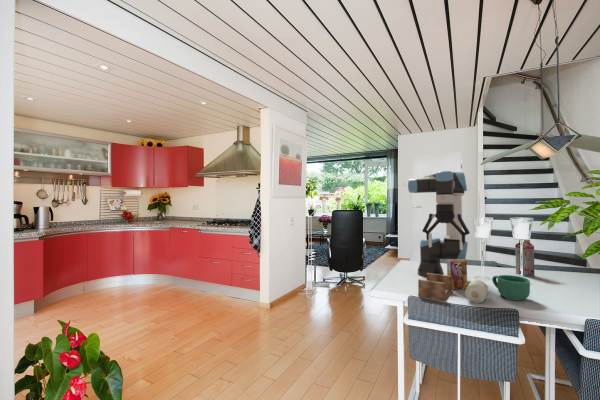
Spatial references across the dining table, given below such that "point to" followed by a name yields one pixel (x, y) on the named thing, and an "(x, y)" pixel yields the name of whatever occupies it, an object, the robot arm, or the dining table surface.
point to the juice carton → (525, 258)
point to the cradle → (435, 286)
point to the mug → (512, 286)
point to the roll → (476, 291)
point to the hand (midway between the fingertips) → (445, 248)
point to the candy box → (457, 273)
